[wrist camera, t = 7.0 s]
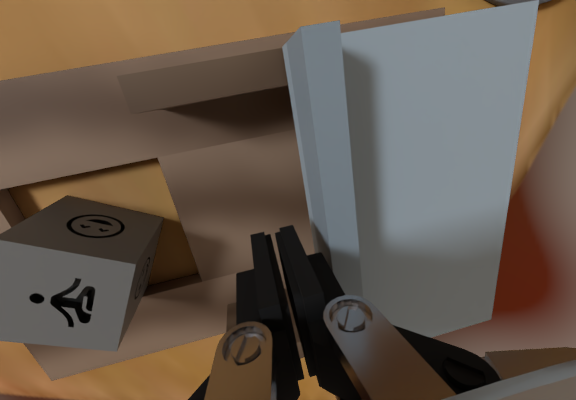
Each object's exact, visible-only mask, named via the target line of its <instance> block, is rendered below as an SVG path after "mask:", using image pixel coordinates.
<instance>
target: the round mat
mask: <svg viewBox="0 0 576 400" xmlns="http://www.w3.org/2000/svg"><path fill="white" fill-rule="evenodd" d="M486 1H488V2H490V3H491V4H494V5H498V6H505V5H511V4H517V3H523V2H529V1H535V0H486ZM548 1H551V0H539V4H541V3H544V2H548Z"/></svg>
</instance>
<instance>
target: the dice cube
mask: <svg viewBox="0 0 576 400" xmlns="http://www.w3.org/2000/svg"><path fill="white" fill-rule="evenodd" d="M163 219H164V218H163V217H159V216H155V215H150V214H146V213H142V212H137V211H133V210H129V209H124V208H120V207H116V206H111V205H107V204H103V203H98V202H94V201H90V200H85V199H81V198H77V197H72V196H68V195H67V196H65V197H63V198H62V199H60V200H58V201H56V202H55V203H53V204H51V205H50V206H48V207H46V208H44V209H43V210H41V211H39V212H37V213H36V214H34V215H32V216H31V217H29V218H27V219H25V220H24V221H22V222H20V223H18V224H17V225H15V226H13V227H12V228H10V229H8V230H6V231H5V232H3V233H1V234H0V341H8V342H18V343H29V344H39V345H50V346H61V347H71V348H82V349H92V350H103V351H114V352H117V350H118V348H119V346H120V344H121V342H122V340H123V337H124V335H125V333H126V331H127V329H128V327H129V325H130V322H131V320H132V318H133V316H134V314H135V312H136V310H137V307H138V305H139V303H140V301H141V299H142V297H143V295H144V292H145V290H146V288H147V286H148V282H149V278H150V274H151V269H152V265H153V261H154V257H155V253H156V248H157V244H158V240H159V236H160V232H161V227H162V223H163Z"/></svg>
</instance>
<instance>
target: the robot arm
mask: <svg viewBox="0 0 576 400" xmlns="http://www.w3.org/2000/svg"><path fill="white" fill-rule="evenodd" d="M279 231H280V232H276V233H275V237H276V242H277V247H278V251H279V256H280V261H281V265H282V270H283V275H284V279H285V284H286V289H287V293H288V297H289V301H290V305H291V308H292V312H293V316H294V320H295V324H296V327H297V331H298V335H299V339H300V342H301V346H302V350H303V354H304V357H305V361H306V365H307V369H308V372H309V376H310V377H312V376H315V375H316V376H317V380H318V383H319V386H320V387H322V388H323V389H325V390H327V391H329V392H330V393H332V394H334V395H335V396H336V399H337V400H576V348H568V347H562V348H544V349H526V350H509V351H493V352H485V357H479V356H478V355H476V354H473V353H471V352H469V351H467V350H465V349H462V348H459V347H456V346H453V345H450V344H447V343H444V342H441V341H438V340H436V339H433V338H430V337H427V336H424V335H421V334H418V333H415V332H412V331H409V330H406V329H404V328H401V327H398V326H395V325H392V324H391V323H390V322H389V321H388V320H387V319H386V317H385V316H384V315H383V314H382V313H381V312H380V311H379V310H378V309H377V308H376V307H375V306H374V305H373V304H372V303H371V302H370V301H369V300H367V299H365V298H362V297H360V296H355V295H345V293H344V291H343V290H342V288H341V286H340V284H339V282H338V281H337V279H336V277H335V275H334V273H333V272H332V270H331V268H330V266H329V264H328V263H327V261H326V259H325V257H324V256H323V254H322V253H321V252H319V253H315V254H311V255H306V253H305V250H304V248H303V246H302V244H301V242H300V239H299V237H298V235H297V233H296V231H295V228H294V226H293V225H290V226H286V227H281V228H279ZM250 237H251V246H252V256H253V265H254V269H251V270H247V271H243V272H239V273H237V274H236V326H235V327H233V328H231V329H230V330H229V331H228V332H226V333H225V334H224V336H223V337H222V338H221V340H220V341H219V344H218V346H217V349H216V353H215V357H214V361H213V365H212V369H211V373H210V375H209V376H208V378H207V379H206V380H205V381H204V382H203V383H202V384H201V385H200V387H199V388H198V389H197V390H196V391H195V392H194V393H193V394H192V396H191V397H190V398H189V399H188V400H297V399H298V398H299V396H300V390H299V386H298V380H302V379H304V375H303V370H302V365H301V361H300V356H299V352H298V347H297V342H296V338H295V333H294V328H293V324H292V319H291V314H290V310H289V305H288V301H287V297H286V293H285V289H284V285H283V281H282V277H281V273H280V270H279V266H278V262H277V258H276V254H275V250H274V246H273V242H272V238H271V234H268V235H265V233H264V232H260V233H256V234H252V235H250Z"/></svg>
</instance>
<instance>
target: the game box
mask: <svg viewBox="0 0 576 400" xmlns="http://www.w3.org/2000/svg"><path fill="white" fill-rule="evenodd" d="M440 16H445V7H444V8H438V9H432V10H426V11H420V12H414V13H408V14H402V15H396V16H390V17H384V18H378V19H372V20H365V21H359V22H353V23H347V24H341V25H340V30H341V33H345V32H351V31H357V30H363V29H369V28H375V27H381V26H387V25H393V24H399V23H404V22H410V21H416V20H422V19H428V18H434V17H440ZM294 33H295V32H293V33H287V34H281V35H275V36H269V37H263V38H257V39H250V40H244V41H238V42H232V43H226V44H220V45H214V46H208V47H202V48H196V49H190V50H184V51H178V52H172V53H166V54H160V55H154V56H148V57H142V58H136V59H129V60H123V61H117V62H111V63H105V64H99V65H93V66H87V67H81V68H75V69H69V70H63V71H57V72H51V73H45V74H39V75H33V76H27V77H21V78H14V79H8V80H2V81H0V234H1V233H3V232H5V231H6V230H8V229H10V228H12V227H13V226H15V225H17V224H18V223H20V222H22V221H24V220H25V218H24V217H23V215H22V213H21V212H20V210H19V208H18V207H17V205H16V203H15V202H14V200H13V198H12V197H11V195H10V193H9V192H8V190H7V188H10V187H15V186H20V185H25V184H30V183H35V182H40V181H44V180H49V179H54V178H59V177H64V176H69V175H74V174H79V173H84V172H89V171H94V170H98V169H103V168H108V167H113V166H118V165H123V164H128V163H133V162H138V161H143V160H147V159H152V158H158V161H159V163H160V166H161V169H162V172H163V174H164V177H165V180H166V183H167V185H168V188H169V191H170V194H171V196H172V199H173V202H174V205H175V207H176V210H177V213H178V216H179V218H180V221H181V224H182V227H183V229H184V232H185V235H186V238H187V240H188V243H189V246H190V249H191V251H192V254H193V257H194V260H195V263H196V265H197V268H198V271H199V274H195V275H191V276H187V277H183V278H179V279H175V280H171V281H167V282H163V283H159V284H155V285H151V286H147V288H146V290H145V292H144V295H143V297H142V299H141V301H140V303H139V305H138V307H137V310H136V312H135V314H134V316H133V318H132V320H131V322H130V325H129V327H128V329H127V331H126V333H125V335H124V337H123V340H122V342H121V344H120V346H119V348H118V350H117V352H114V351H103V350H92V349H82V348H71V347H61V346H50V345H39V344H29V343H24V345H25V346H26V347H27V349H28V350H29V351H30V353H31V354H32V355H33V357H34V358H35V359H36V361H37V362H38V363H39V364H40V366H41V367H42V368H43V370H44V371H45V372H46V374H47V375H48V376H49V378H50V379H51V380H52V381H53V380H57V379H60V378H64V377H67V376H71V375H75V374H78V373H82V372H85V371H89V370H93V369H96V368H100V367H104V366H107V365H111V364H114V363H118V362H122V361H125V360H129V359H132V358H136V357H140V356H143V355H147V354H150V353H154V352H158V351H161V350H165V349H169V348H172V347H176V346H179V345H183V344H187V343H190V342H194V341H197V340H201V339H205V338H208V337H212V336H216V335H219V334H223V333H226V332H228V331H229V330H230V329H231V328H233V327H235V326H236V274H237V273H239V272H243V271H247V270H251V269H254V265H253V256H252V246H251V237H250V235H252V234H256V233H260V232H264V233H265V235H268V234H271V238H272V242H273V246H274V250H275V254H276V258H277V262H278V266H279V270H280V273H281V277H282V281H283V285H284V289H285V293H286V297H287V301H288V305H289V310H290V314H291V319H292V324H293V328H294V333H295V338H296V342H297V347H298V352H299V356H300V358H303V357H304V354H303V350H302V346H301V342H300V339H299V335H298V331H297V327H296V324H295V320H294V316H293V312H292V308H291V305H290V301H289V297H288V293H287V289H286V284H285V279H284V275H283V270H282V265H281V261H280V256H279V251H278V247H277V242H276V237H275V233H276V232H280V231H279V228H281V227H286V226H290V225H293V226H294V228H295V231H296V233H297V235H298V237H299V239H300V242H301V244H302V246H303V248H304V250H305V253H306V255H311V254H315V250H314V244H313V238H312V232H311V225H310V219H309V213H308V206H307V200H306V194H305V187H304V181H303V175H302V169H301V162H300V156H299V150H298V143H297V137H296V131H295V124H294V118H293V112H292V106H291V99H290V93H289V87H288V80H287V74H286V68H285V61H284V55H283V49H282V47H283V45H284V44H285V43H286V42H287V41H288V40H289V39H290V38H291V37H292V36H293V35H294Z"/></svg>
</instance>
